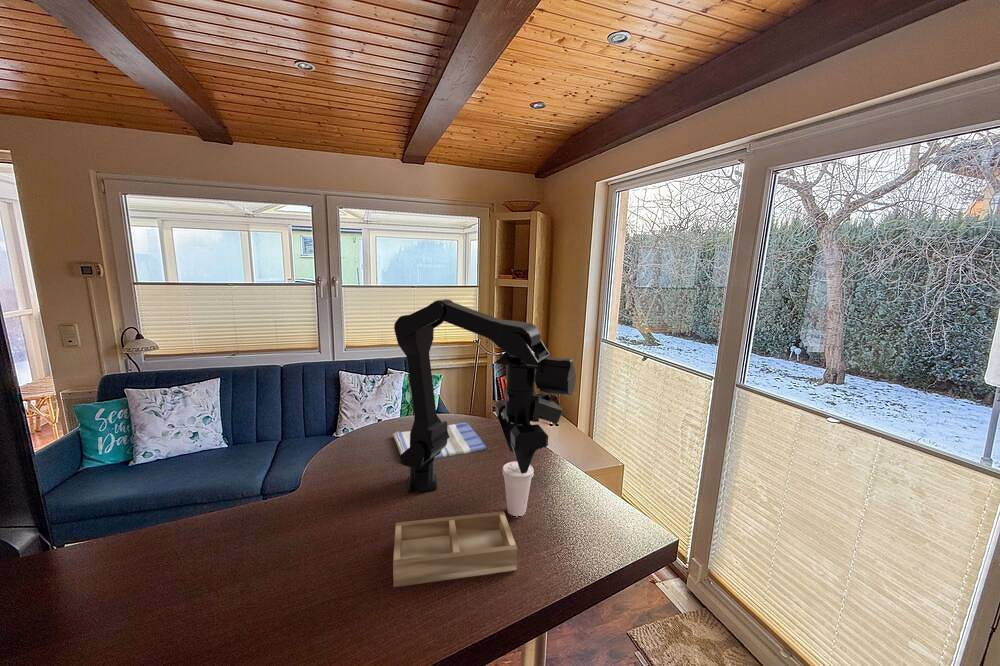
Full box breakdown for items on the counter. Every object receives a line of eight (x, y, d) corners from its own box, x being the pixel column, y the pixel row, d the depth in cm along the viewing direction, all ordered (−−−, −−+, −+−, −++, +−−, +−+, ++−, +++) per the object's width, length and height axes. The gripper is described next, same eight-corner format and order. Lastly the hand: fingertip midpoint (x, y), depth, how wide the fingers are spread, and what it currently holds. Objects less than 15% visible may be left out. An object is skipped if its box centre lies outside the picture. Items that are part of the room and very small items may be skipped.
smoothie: (529, 523, 80) (532, 457, 78) (498, 518, 81) (500, 453, 79) (533, 505, 86) (536, 443, 84) (504, 501, 87) (506, 440, 85)
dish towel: (392, 438, 118) (391, 429, 118) (469, 428, 127) (469, 420, 126) (399, 466, 102) (399, 456, 102) (487, 452, 111) (487, 443, 110)
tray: (396, 542, 74) (395, 522, 73) (503, 530, 78) (503, 511, 77) (393, 587, 63) (393, 564, 63) (516, 570, 68) (517, 548, 67)
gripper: (577, 401, 72) (572, 482, 74) (544, 373, 90) (541, 439, 92) (517, 404, 70) (514, 487, 72) (495, 375, 87) (493, 442, 90)
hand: (517, 461), depth 82 cm, fingers open, 9 cm apart
